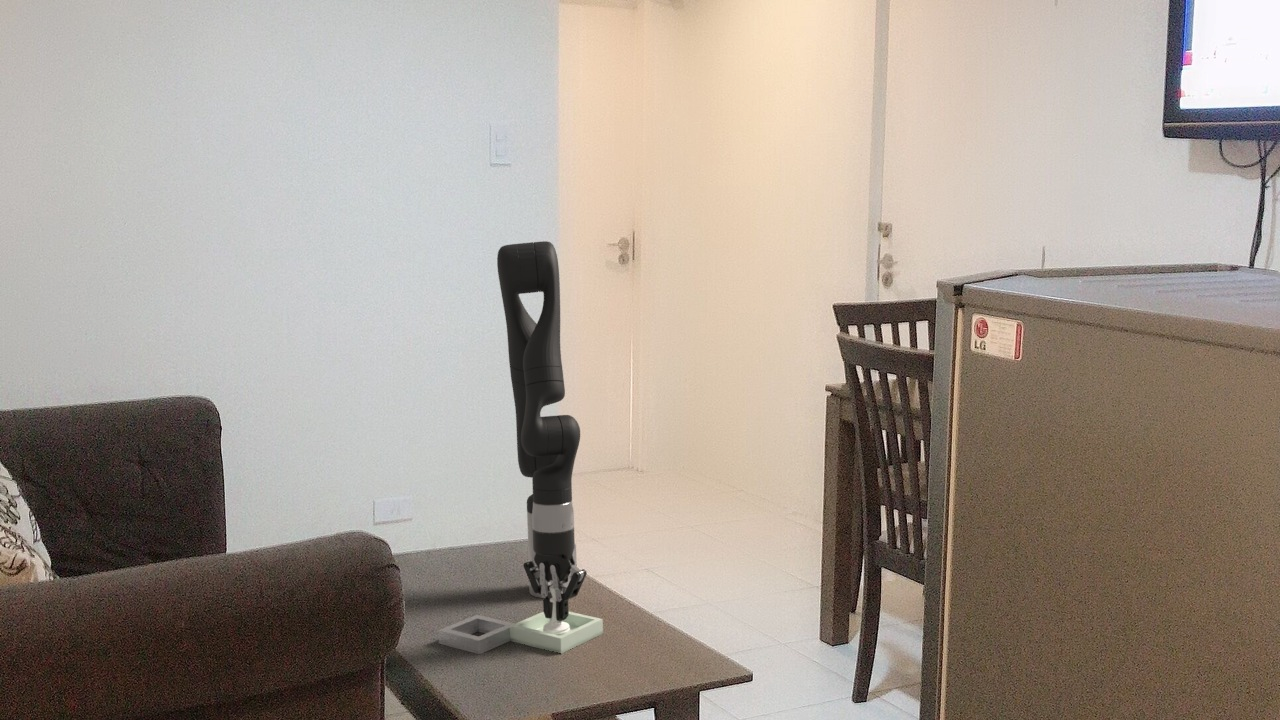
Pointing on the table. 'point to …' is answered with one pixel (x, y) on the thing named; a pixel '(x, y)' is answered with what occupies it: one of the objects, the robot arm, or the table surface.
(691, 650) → the table surface
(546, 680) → the table surface
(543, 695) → the table surface
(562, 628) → the chess piece
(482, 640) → the collar block
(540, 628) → the tray
